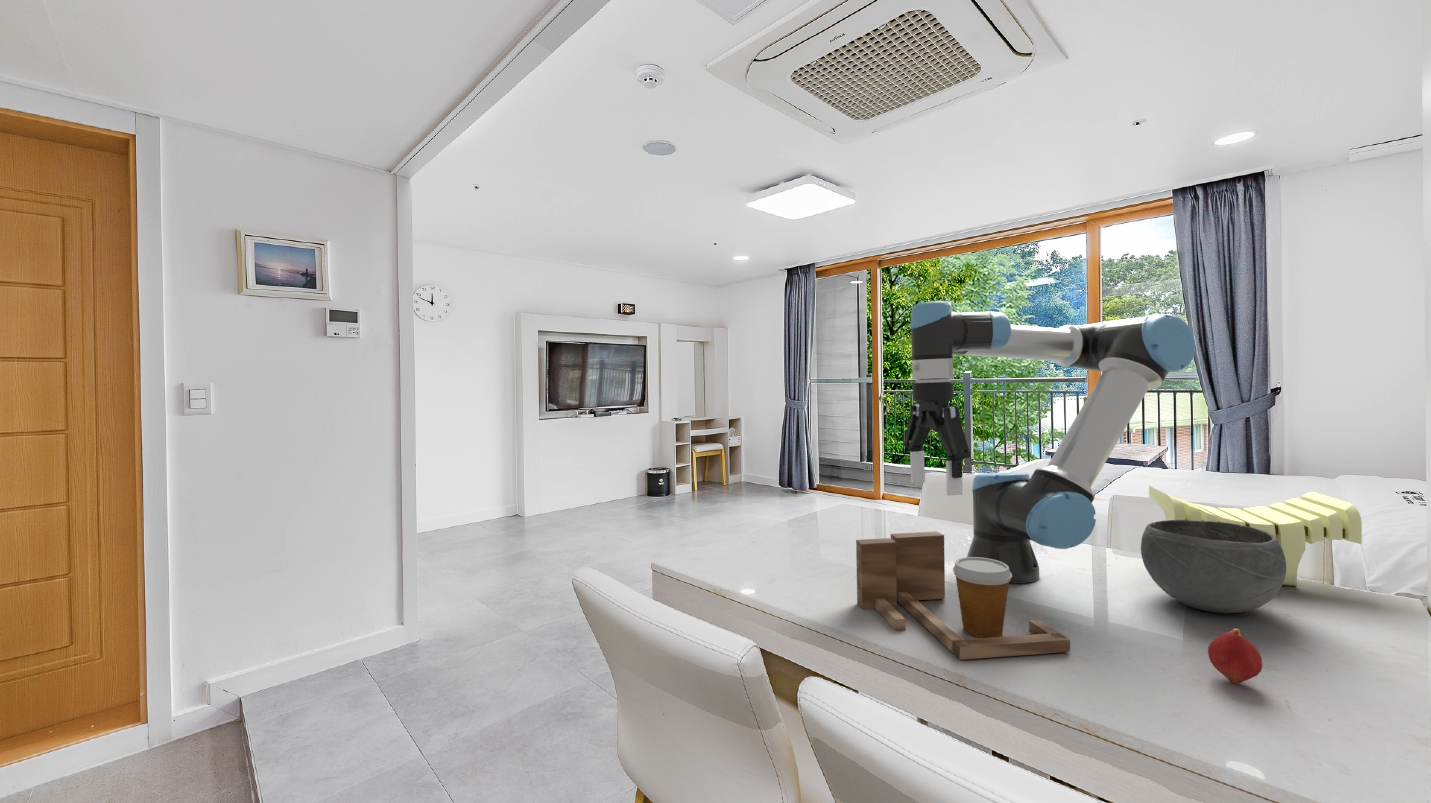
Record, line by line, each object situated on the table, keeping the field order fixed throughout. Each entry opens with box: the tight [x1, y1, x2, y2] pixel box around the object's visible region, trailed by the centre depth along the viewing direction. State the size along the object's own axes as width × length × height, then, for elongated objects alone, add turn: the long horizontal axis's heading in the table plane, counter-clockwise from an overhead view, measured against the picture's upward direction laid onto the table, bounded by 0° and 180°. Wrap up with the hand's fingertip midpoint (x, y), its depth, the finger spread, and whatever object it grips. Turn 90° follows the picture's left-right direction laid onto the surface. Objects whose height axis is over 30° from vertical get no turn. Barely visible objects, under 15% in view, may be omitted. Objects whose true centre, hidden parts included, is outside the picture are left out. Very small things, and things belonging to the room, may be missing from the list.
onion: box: [1207, 628, 1263, 684], centre depth 82 cm, size 6×6×8 cm
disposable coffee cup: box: [952, 556, 1012, 638], centre depth 101 cm, size 10×10×12 cm
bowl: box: [1140, 519, 1286, 614], centre depth 109 cm, size 21×21×15 cm
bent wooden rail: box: [890, 530, 1071, 661], centre depth 104 cm, size 27×19×13 cm
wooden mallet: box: [855, 537, 906, 631], centre depth 108 cm, size 13×7×13 cm, turn 5°
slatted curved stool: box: [1148, 485, 1363, 587], centre depth 125 cm, size 30×16×18 cm, turn 69°
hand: (935, 488), depth 112 cm, fingers open, 13 cm apart
